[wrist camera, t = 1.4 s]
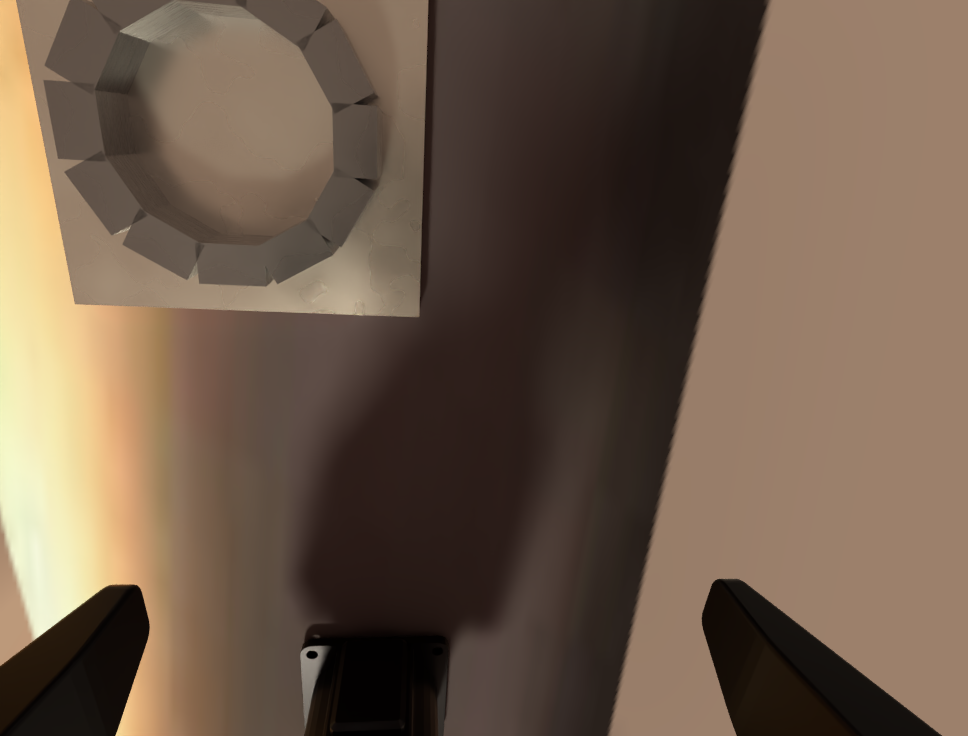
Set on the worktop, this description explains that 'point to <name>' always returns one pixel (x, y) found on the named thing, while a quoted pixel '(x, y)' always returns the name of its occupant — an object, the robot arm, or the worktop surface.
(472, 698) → the worktop surface
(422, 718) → the robot arm
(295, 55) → the socket flange
